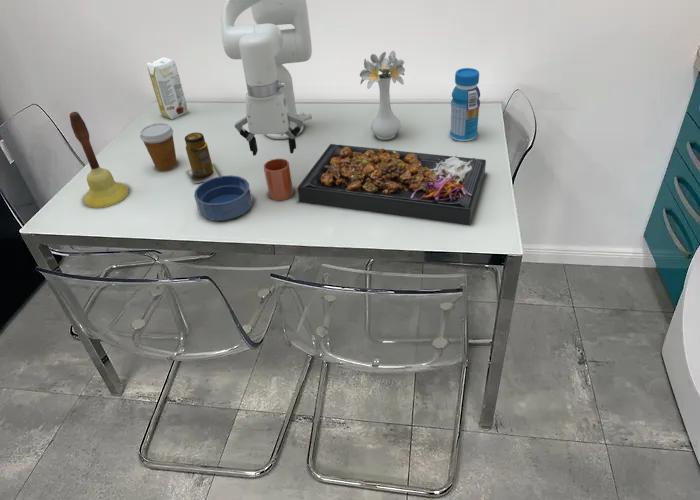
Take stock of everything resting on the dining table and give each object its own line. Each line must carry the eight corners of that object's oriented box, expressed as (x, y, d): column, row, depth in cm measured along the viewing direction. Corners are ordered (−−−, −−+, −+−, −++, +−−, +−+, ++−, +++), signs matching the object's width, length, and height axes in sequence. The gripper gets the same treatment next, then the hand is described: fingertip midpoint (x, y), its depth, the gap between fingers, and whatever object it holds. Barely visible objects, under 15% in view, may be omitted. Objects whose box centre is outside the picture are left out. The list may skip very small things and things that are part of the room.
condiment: (212, 165, 169) (202, 128, 162) (219, 177, 163) (210, 139, 156) (188, 171, 167) (177, 134, 160) (194, 184, 161) (184, 146, 153)
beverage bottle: (447, 141, 171) (450, 76, 158) (451, 128, 177) (454, 65, 165) (475, 143, 168) (480, 78, 156) (479, 130, 175) (484, 67, 162)
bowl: (242, 187, 158) (238, 169, 155) (260, 211, 148) (257, 193, 144) (192, 203, 153) (187, 185, 150) (208, 229, 143) (203, 211, 140)
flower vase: (407, 121, 183) (406, 43, 168) (403, 148, 169) (402, 66, 153) (367, 121, 185) (363, 44, 170) (360, 148, 171) (355, 67, 155)
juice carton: (191, 112, 201) (177, 59, 189) (171, 121, 196) (155, 67, 184) (178, 107, 205) (164, 55, 193) (158, 116, 200) (142, 63, 188)
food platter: (484, 173, 155) (487, 139, 148) (469, 224, 137) (472, 188, 130) (331, 157, 168) (328, 125, 162) (299, 201, 150) (294, 167, 144)
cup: (287, 184, 157) (282, 156, 152) (297, 195, 153) (292, 166, 147) (265, 191, 155) (260, 163, 150) (274, 203, 150) (269, 173, 145)
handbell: (136, 184, 163) (107, 103, 148) (115, 208, 154) (82, 124, 138) (98, 183, 165) (65, 103, 150) (75, 207, 156) (37, 123, 140)
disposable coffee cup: (174, 174, 166) (163, 137, 159) (145, 173, 168) (132, 136, 161) (187, 158, 174) (177, 122, 166) (159, 157, 175) (148, 121, 168)
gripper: (300, 80, 138) (308, 143, 148) (230, 84, 139) (243, 147, 149) (297, 92, 132) (305, 157, 142) (224, 96, 133) (238, 160, 143)
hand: (273, 152), depth 146 cm, fingers open, 9 cm apart
